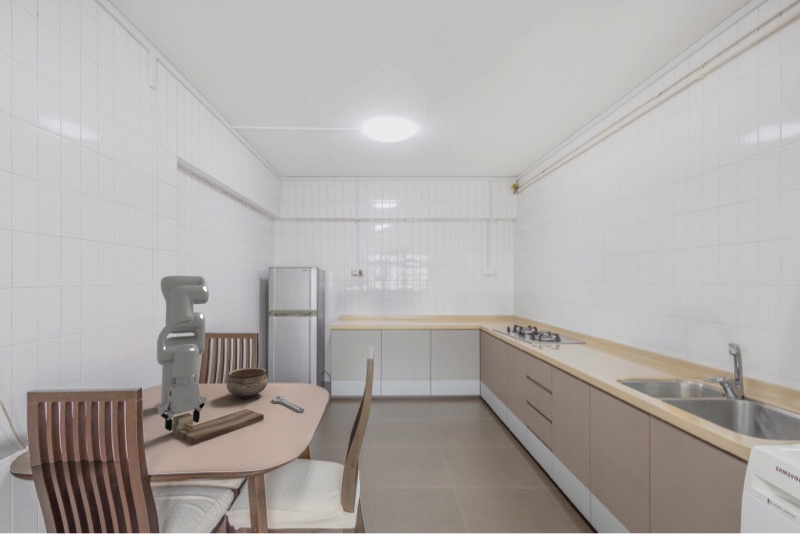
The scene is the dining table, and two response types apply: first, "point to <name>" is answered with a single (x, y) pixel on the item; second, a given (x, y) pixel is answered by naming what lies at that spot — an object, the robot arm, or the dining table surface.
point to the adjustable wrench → (287, 404)
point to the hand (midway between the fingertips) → (182, 425)
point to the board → (219, 426)
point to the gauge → (182, 422)
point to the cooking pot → (247, 382)
